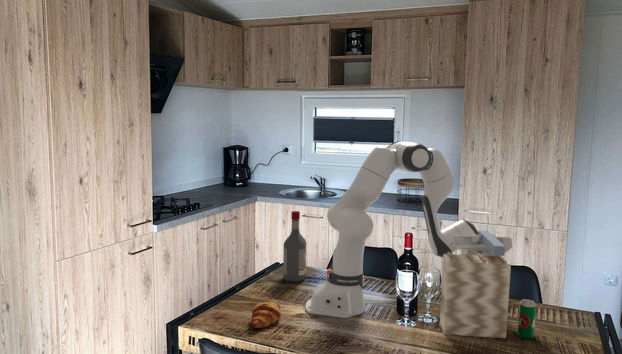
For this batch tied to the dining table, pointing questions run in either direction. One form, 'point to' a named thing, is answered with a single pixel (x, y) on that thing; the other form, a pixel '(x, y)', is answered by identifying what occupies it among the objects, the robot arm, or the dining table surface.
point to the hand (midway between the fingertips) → (486, 236)
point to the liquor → (294, 253)
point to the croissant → (265, 314)
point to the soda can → (526, 319)
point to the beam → (492, 243)
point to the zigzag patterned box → (475, 295)
